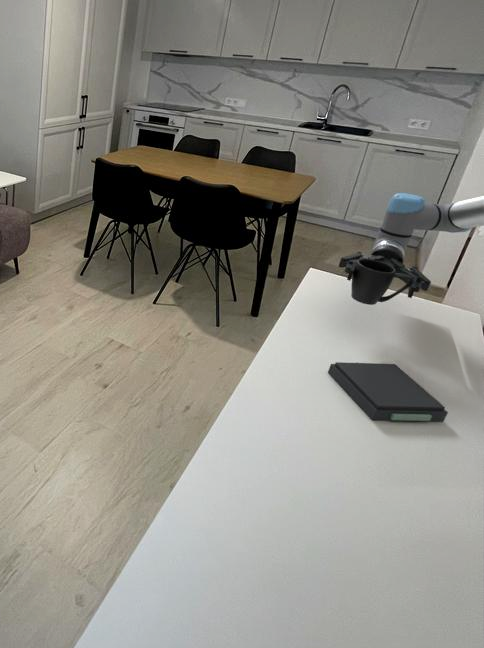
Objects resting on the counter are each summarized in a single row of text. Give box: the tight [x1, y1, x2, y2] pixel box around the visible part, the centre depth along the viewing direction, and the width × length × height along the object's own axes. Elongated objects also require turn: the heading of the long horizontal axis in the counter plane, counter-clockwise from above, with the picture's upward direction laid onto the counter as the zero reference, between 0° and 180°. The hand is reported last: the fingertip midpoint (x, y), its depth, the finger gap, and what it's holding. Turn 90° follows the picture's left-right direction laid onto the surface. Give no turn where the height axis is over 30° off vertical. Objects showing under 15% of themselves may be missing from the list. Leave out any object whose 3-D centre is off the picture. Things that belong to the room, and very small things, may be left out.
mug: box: [350, 259, 413, 306], centre depth 123 cm, size 8×12×10 cm
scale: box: [327, 361, 449, 423], centre depth 104 cm, size 16×15×3 cm
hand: (380, 283), depth 119 cm, fingers closed on mug, 12 cm apart
